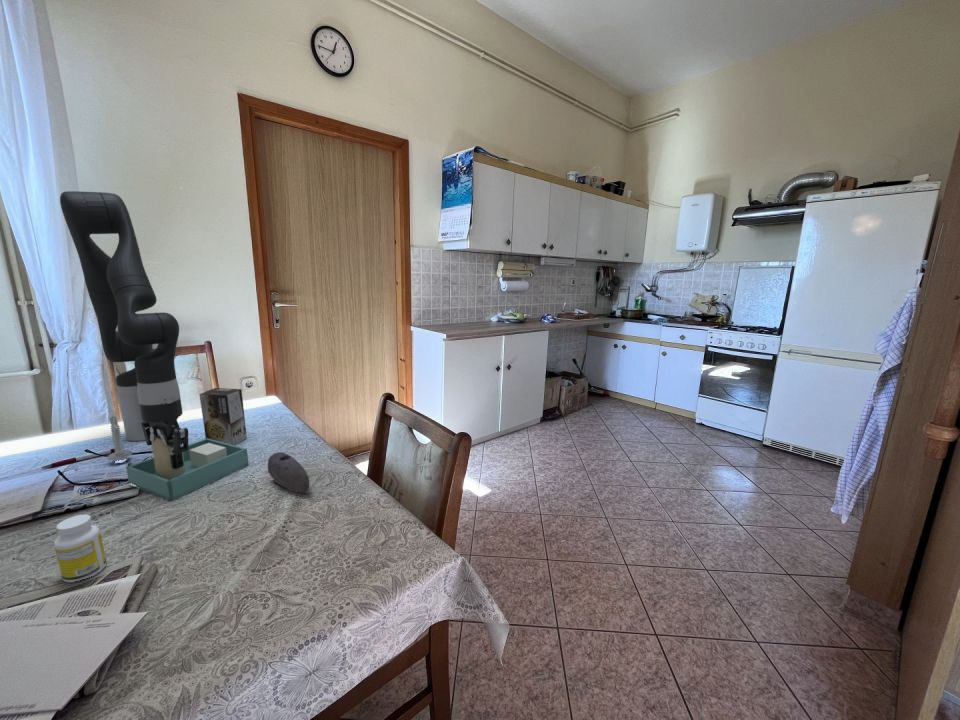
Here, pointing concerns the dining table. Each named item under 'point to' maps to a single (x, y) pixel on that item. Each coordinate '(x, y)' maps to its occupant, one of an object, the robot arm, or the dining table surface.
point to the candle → (165, 461)
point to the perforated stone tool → (288, 472)
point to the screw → (117, 442)
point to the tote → (187, 472)
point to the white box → (206, 454)
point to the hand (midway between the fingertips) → (170, 464)
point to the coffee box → (223, 415)
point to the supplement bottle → (79, 548)
